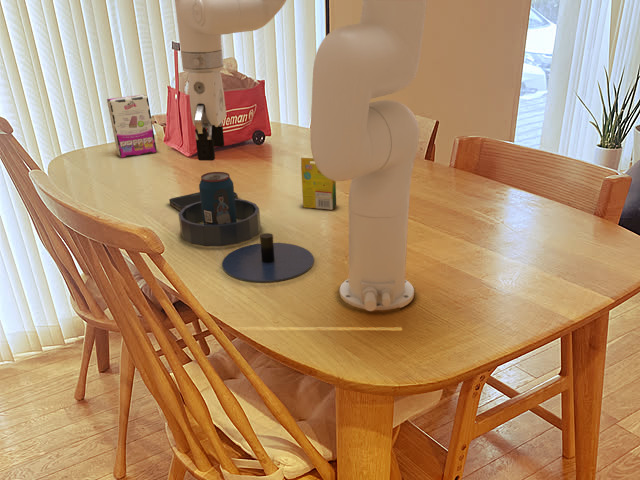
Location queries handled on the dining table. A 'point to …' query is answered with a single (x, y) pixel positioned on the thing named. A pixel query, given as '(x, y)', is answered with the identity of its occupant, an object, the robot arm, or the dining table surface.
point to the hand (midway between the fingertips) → (211, 153)
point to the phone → (187, 200)
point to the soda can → (217, 198)
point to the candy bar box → (132, 125)
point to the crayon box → (316, 187)
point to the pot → (222, 232)
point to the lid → (268, 261)
